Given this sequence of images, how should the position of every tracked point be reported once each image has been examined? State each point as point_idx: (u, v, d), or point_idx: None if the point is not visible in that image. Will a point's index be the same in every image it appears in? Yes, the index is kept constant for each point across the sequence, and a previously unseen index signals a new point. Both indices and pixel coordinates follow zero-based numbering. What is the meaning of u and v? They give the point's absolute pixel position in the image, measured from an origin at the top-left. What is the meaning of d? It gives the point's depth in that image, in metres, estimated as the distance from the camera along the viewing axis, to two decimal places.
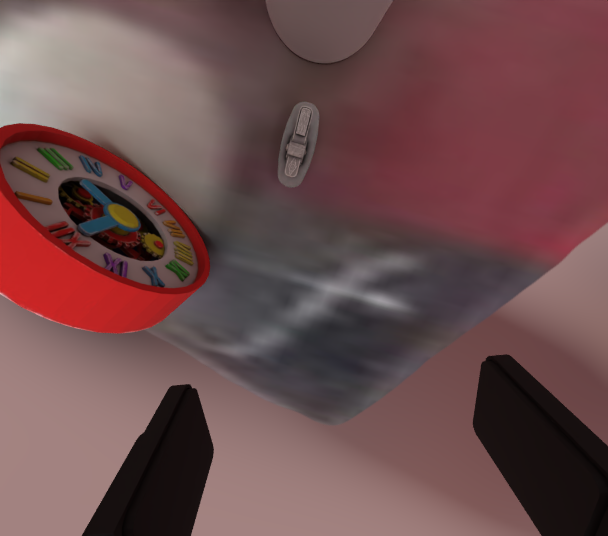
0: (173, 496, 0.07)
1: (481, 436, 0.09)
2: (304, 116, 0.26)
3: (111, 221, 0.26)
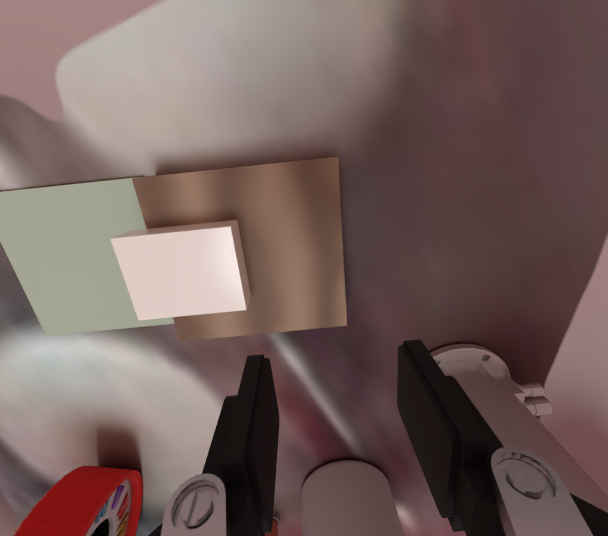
0: (266, 445, 0.08)
1: (401, 413, 0.10)
2: None
3: None
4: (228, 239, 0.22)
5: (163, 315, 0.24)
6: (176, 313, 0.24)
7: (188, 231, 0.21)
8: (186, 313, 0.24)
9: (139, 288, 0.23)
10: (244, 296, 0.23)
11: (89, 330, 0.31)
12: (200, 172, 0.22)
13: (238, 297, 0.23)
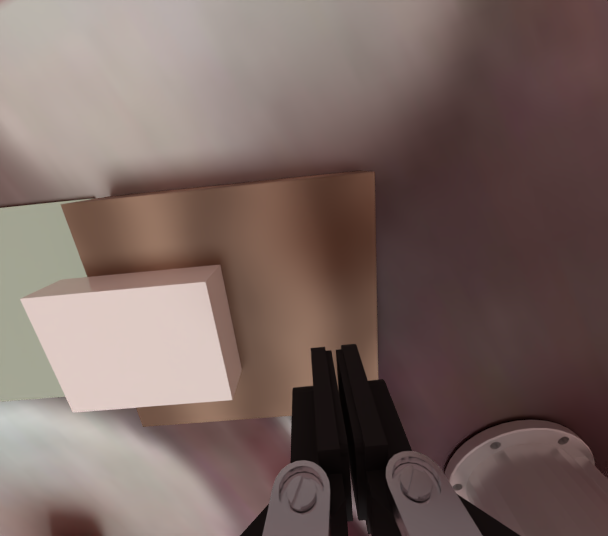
0: None
1: None
2: None
3: None
4: (202, 300, 0.14)
5: (109, 406, 0.16)
6: (128, 403, 0.16)
7: (140, 288, 0.14)
8: (143, 404, 0.16)
9: (70, 369, 0.15)
10: (228, 380, 0.15)
11: (30, 397, 0.23)
12: (163, 195, 0.15)
13: (220, 383, 0.15)
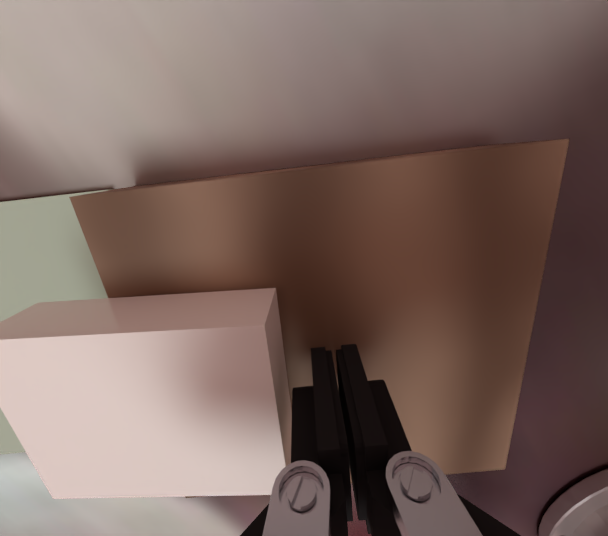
0: None
1: None
2: None
3: None
4: (257, 354, 0.08)
5: (105, 493, 0.11)
6: (133, 491, 0.11)
7: (155, 332, 0.08)
8: (156, 493, 0.11)
9: (46, 443, 0.10)
10: None
11: None
12: (232, 181, 0.09)
13: (273, 472, 0.10)
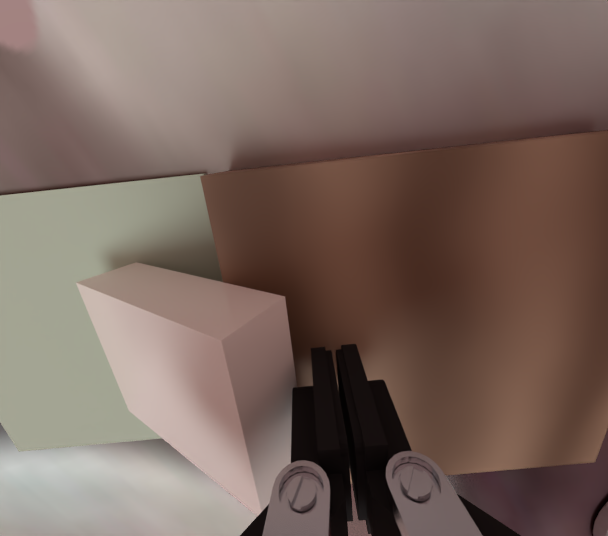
0: None
1: None
2: None
3: None
4: (219, 368, 0.07)
5: (150, 425, 0.13)
6: (163, 435, 0.12)
7: (152, 313, 0.09)
8: (175, 446, 0.12)
9: (119, 371, 0.13)
10: (260, 494, 0.09)
11: (93, 442, 0.18)
12: (371, 160, 0.09)
13: (248, 490, 0.09)
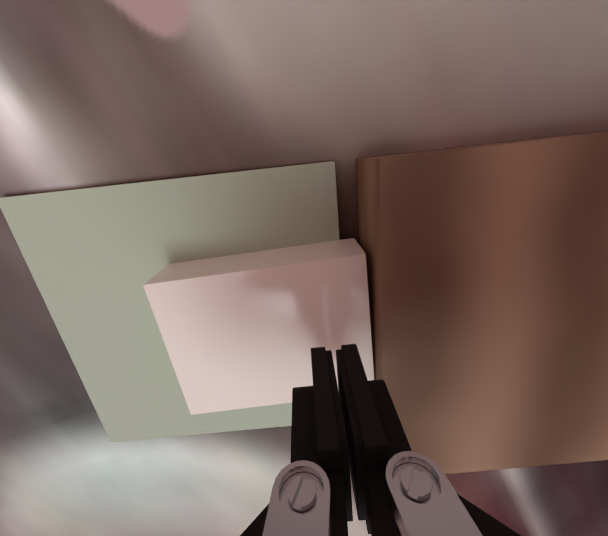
0: None
1: None
2: None
3: None
4: (359, 277, 0.12)
5: (233, 405, 0.14)
6: (255, 401, 0.14)
7: (286, 266, 0.12)
8: (273, 401, 0.14)
9: (193, 365, 0.13)
10: (373, 370, 0.13)
11: (185, 433, 0.18)
12: (552, 142, 0.09)
13: None
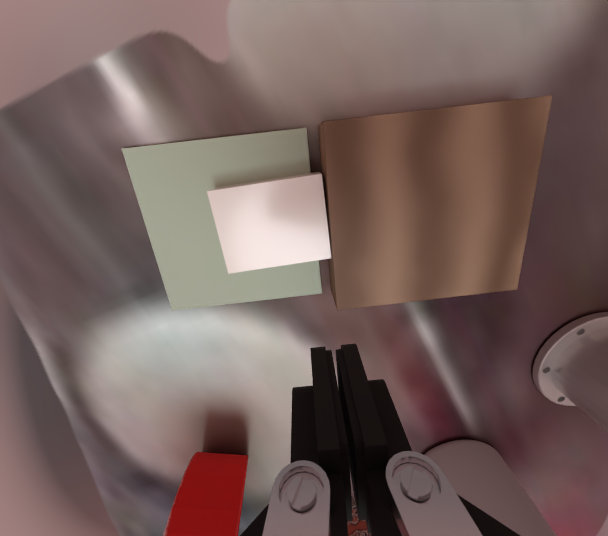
0: None
1: None
2: None
3: None
4: (318, 187, 0.23)
5: (252, 267, 0.25)
6: (264, 264, 0.25)
7: (281, 180, 0.22)
8: (274, 264, 0.25)
9: (231, 240, 0.24)
10: (329, 244, 0.25)
11: (219, 303, 0.29)
12: (400, 114, 0.20)
13: (324, 246, 0.24)
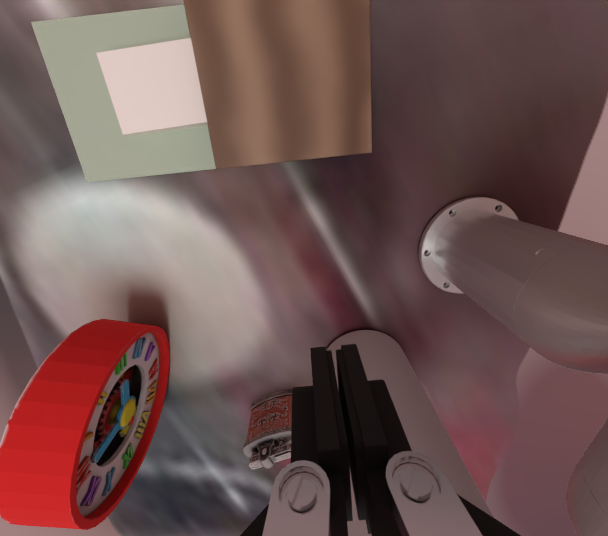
0: None
1: None
2: (286, 455, 0.37)
3: (116, 429, 0.31)
4: (190, 50, 0.27)
5: (142, 128, 0.29)
6: (153, 126, 0.29)
7: (157, 43, 0.27)
8: (161, 126, 0.29)
9: (121, 101, 0.28)
10: None
11: (127, 176, 0.33)
12: None
13: (202, 109, 0.29)
